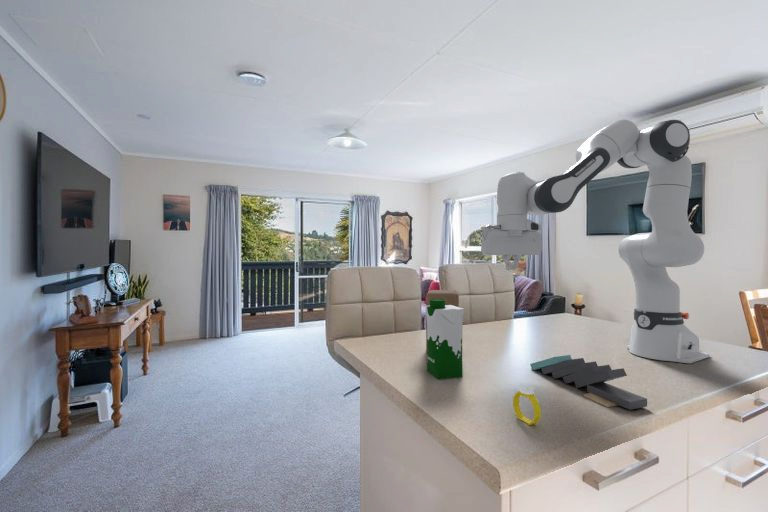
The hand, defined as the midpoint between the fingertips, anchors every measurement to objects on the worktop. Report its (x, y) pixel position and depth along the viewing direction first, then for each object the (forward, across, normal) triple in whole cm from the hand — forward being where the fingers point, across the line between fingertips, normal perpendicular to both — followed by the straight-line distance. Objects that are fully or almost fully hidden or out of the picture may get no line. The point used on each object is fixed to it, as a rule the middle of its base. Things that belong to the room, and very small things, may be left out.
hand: (511, 270), depth 111 cm
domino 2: (+26, 0, -15) cm, 31 cm away
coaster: (+27, 0, -34) cm, 43 cm away
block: (+27, -18, +11) cm, 35 cm away
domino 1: (+26, 0, -11) cm, 29 cm away
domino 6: (+26, 0, -30) cm, 39 cm away
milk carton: (+27, -27, -7) cm, 39 cm away
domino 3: (+26, 0, -19) cm, 33 cm away
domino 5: (+26, 0, -26) cm, 37 cm away
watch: (+27, -25, -36) cm, 52 cm away
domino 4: (+26, 0, -23) cm, 35 cm away
